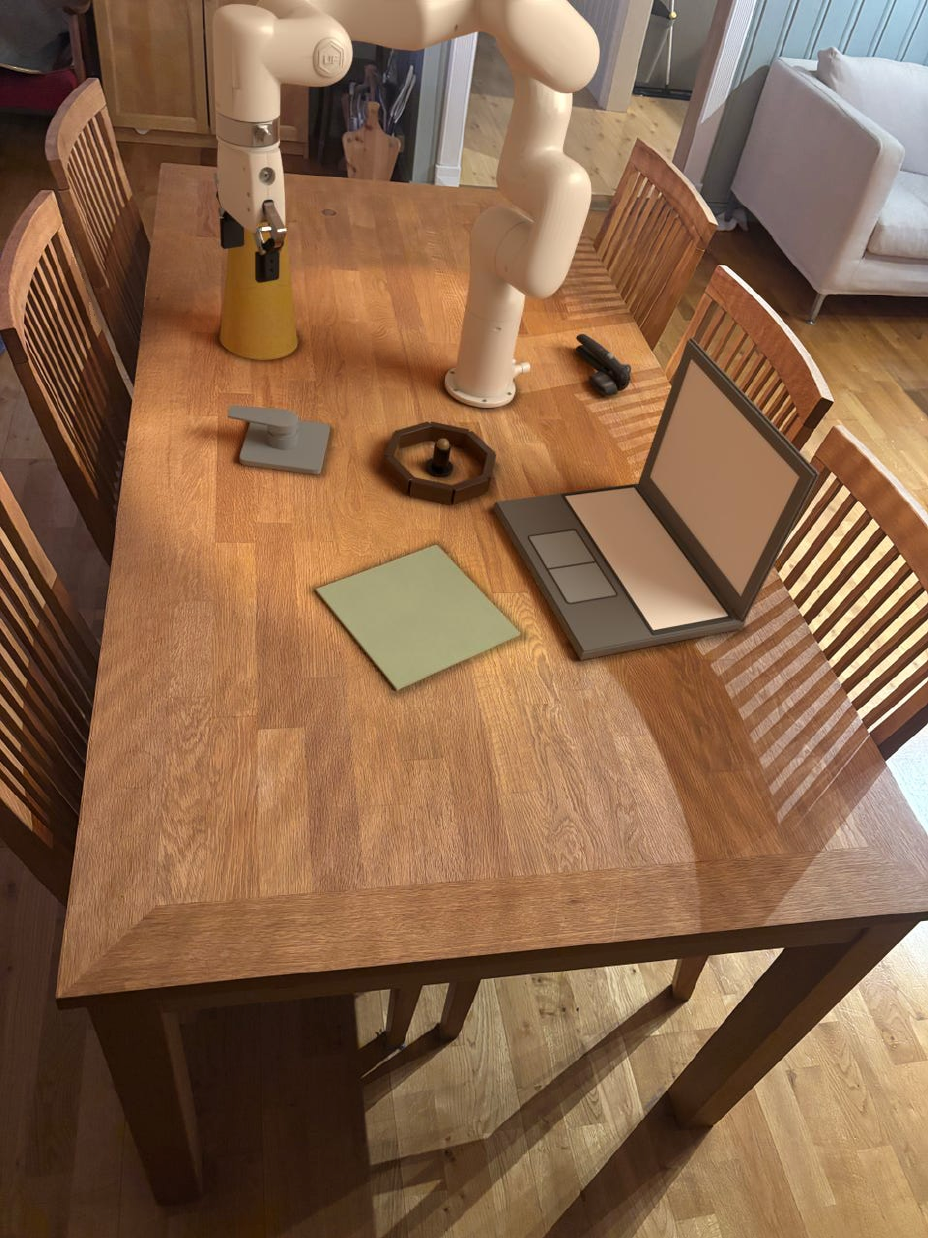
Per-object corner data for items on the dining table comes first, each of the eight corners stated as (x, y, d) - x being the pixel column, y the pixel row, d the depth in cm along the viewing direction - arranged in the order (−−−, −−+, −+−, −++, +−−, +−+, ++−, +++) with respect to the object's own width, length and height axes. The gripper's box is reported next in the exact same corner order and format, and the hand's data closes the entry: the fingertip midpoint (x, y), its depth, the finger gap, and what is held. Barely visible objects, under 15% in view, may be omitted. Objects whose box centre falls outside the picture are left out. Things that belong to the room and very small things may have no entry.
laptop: (492, 510, 148) (527, 348, 129) (641, 491, 158) (695, 336, 138) (579, 662, 129) (636, 498, 109) (743, 630, 138) (824, 473, 118)
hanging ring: (451, 427, 162) (453, 413, 160) (512, 484, 154) (515, 470, 152) (366, 452, 154) (367, 438, 152) (425, 514, 146) (427, 500, 144)
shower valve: (236, 386, 152) (331, 400, 153) (237, 416, 156) (330, 428, 157) (219, 432, 143) (321, 446, 145) (221, 462, 147) (319, 475, 148)
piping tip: (274, 368, 167) (275, 193, 146) (204, 343, 169) (195, 167, 148) (311, 334, 176) (317, 166, 155) (244, 311, 178) (242, 142, 157)
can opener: (634, 399, 177) (643, 372, 173) (600, 402, 175) (608, 375, 171) (593, 347, 188) (600, 321, 184) (561, 349, 186) (567, 323, 182)
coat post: (442, 457, 156) (447, 428, 152) (458, 472, 154) (463, 443, 150) (419, 464, 154) (424, 435, 150) (435, 480, 152) (440, 451, 148)
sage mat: (436, 546, 141) (436, 544, 141) (520, 635, 131) (520, 633, 131) (315, 590, 131) (315, 588, 131) (396, 690, 121) (397, 688, 121)
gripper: (311, 152, 113) (307, 289, 126) (243, 98, 122) (245, 230, 134) (253, 158, 110) (254, 299, 122) (187, 102, 118) (194, 238, 131)
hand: (249, 263), depth 128 cm, fingers open, 9 cm apart
